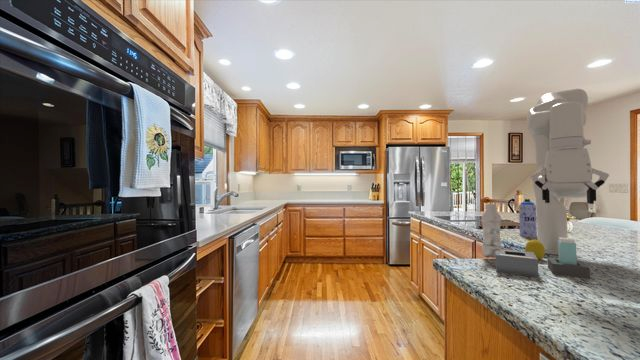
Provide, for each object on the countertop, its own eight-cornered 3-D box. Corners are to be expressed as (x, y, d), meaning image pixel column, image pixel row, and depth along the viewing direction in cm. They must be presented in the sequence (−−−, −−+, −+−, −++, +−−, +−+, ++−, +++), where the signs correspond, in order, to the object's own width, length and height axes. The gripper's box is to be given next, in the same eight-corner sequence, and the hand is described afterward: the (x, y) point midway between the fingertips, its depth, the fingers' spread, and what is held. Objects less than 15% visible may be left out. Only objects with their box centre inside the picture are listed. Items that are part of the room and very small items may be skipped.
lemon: (548, 264, 95) (548, 240, 95) (530, 263, 96) (530, 240, 96) (539, 260, 100) (538, 237, 100) (522, 259, 101) (521, 237, 101)
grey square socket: (547, 270, 87) (547, 257, 88) (582, 274, 83) (581, 261, 83) (552, 277, 81) (552, 263, 81) (590, 282, 76) (589, 267, 77)
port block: (495, 266, 91) (495, 248, 92) (533, 271, 86) (533, 251, 86) (496, 275, 83) (495, 254, 83) (538, 280, 78) (537, 258, 78)
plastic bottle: (479, 257, 103) (477, 204, 104) (485, 255, 108) (484, 203, 108) (498, 261, 98) (497, 205, 99) (505, 258, 103) (503, 204, 103)
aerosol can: (521, 236, 148) (520, 199, 149) (517, 234, 155) (516, 198, 156) (539, 237, 145) (538, 199, 146) (534, 235, 152) (533, 198, 153)
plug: (558, 270, 84) (557, 237, 85) (573, 271, 83) (572, 238, 83) (561, 273, 81) (560, 238, 82) (577, 275, 80) (575, 240, 80)
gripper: (602, 144, 80) (604, 203, 80) (528, 149, 89) (529, 202, 89) (612, 140, 74) (614, 204, 73) (531, 145, 83) (532, 203, 82)
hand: (568, 203), depth 81 cm, fingers open, 9 cm apart
